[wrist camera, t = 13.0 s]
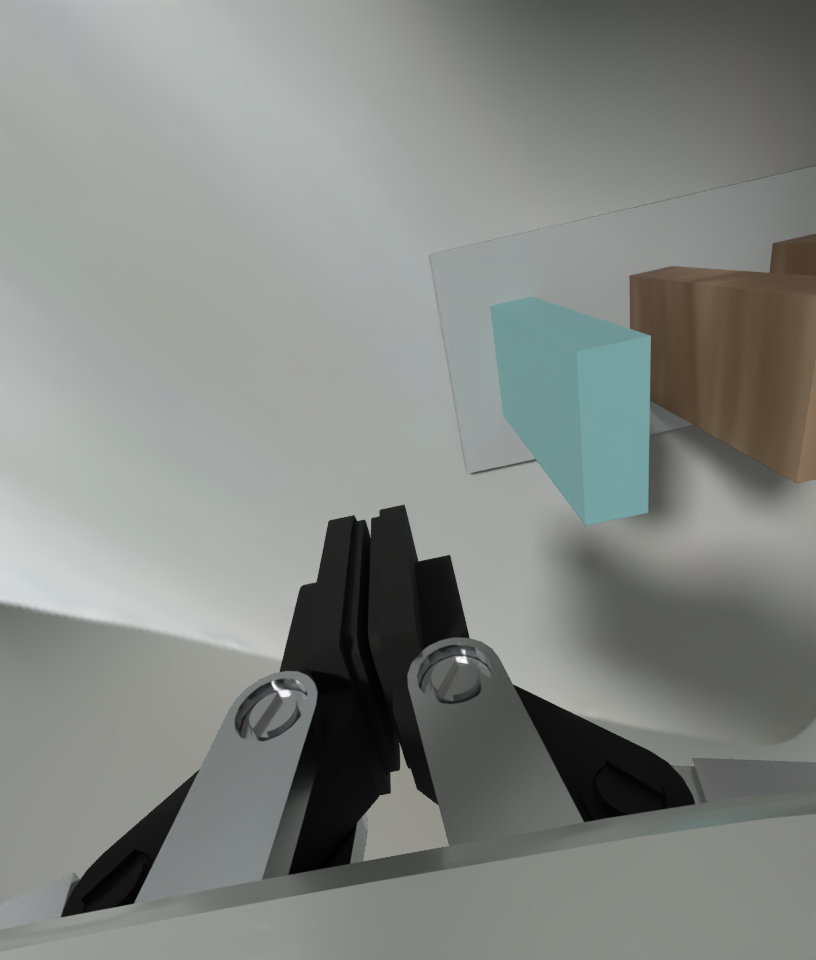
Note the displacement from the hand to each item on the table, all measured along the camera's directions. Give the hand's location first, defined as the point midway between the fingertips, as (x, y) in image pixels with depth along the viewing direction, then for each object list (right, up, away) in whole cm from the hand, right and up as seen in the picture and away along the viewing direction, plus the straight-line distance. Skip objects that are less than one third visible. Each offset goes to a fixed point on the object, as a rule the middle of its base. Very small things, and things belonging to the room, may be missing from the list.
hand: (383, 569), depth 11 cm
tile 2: (+11, +9, +11) cm, 18 cm away
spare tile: (+5, +7, +11) cm, 14 cm away
